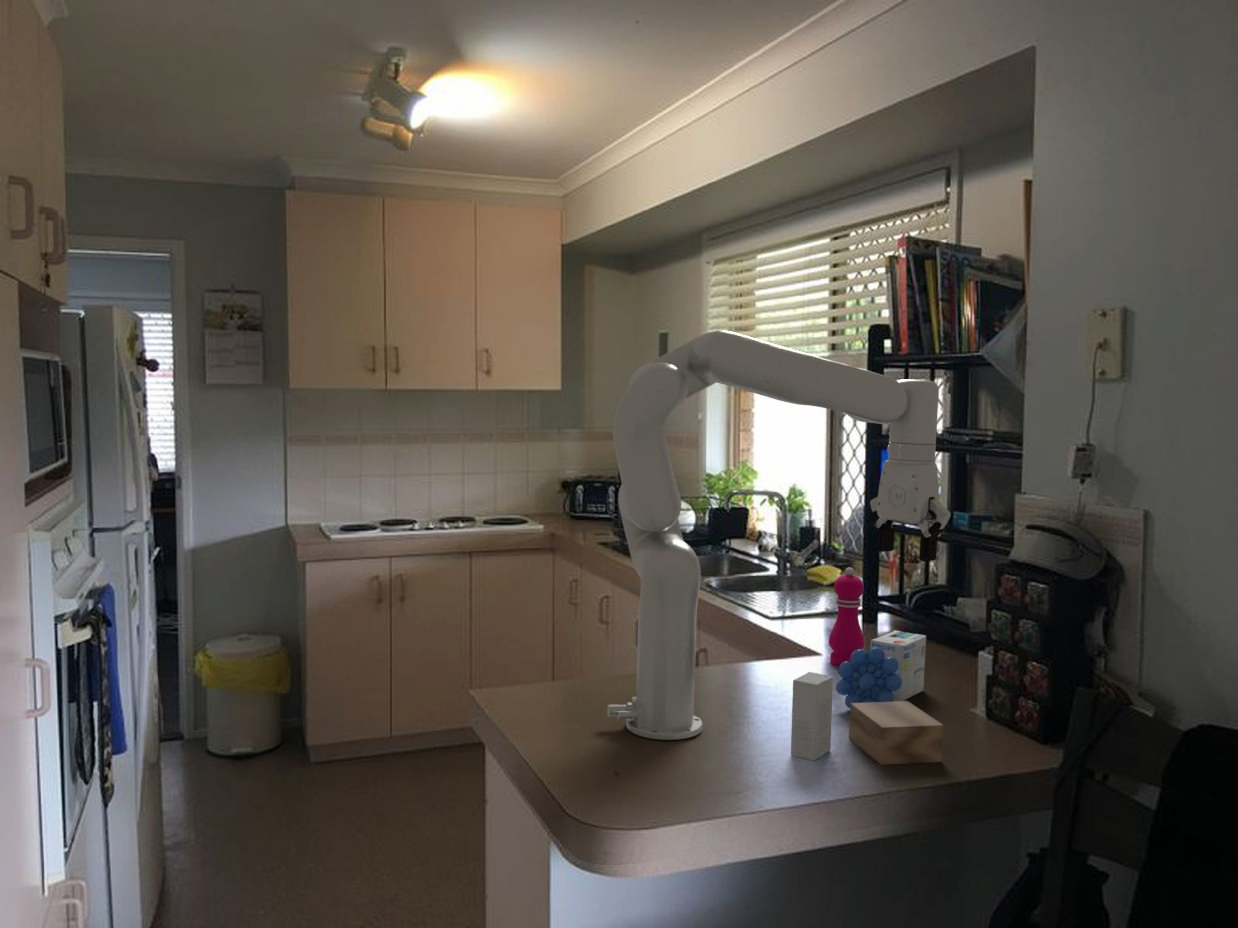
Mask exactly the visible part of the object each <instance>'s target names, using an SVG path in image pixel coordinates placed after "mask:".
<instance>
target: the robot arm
mask: <svg viewBox="0 0 1238 928" xmlns="http://www.w3.org/2000/svg"><path fill="white" fill-rule="evenodd" d="M715 384H721V385H725V386H728V387H732V388H734V389H738V390H742V391H746V392H749V393H752V394H757V395H760V396H763V397H767V398H770V399H774V400H776V401H780V402H785V403H789V404H794V405H799V406H808V407H809V406H811V407H817V408H823V409H827V410H831V411H835V412H839V413H843V414H846V415H847V416H849V418H851V419H853V420H854V421H857V422H860V423H861V422H863V423H870V424H879V425H886V424H889V438H888V446H886V451H887V452H888V455H887V457H888V458H887V460H884V463H883V466H882V469H881V473H880V474H881V475H880V480H879V484H878V485H879V486H878V493H877V496H876V497H873V499H871V500H870V502H869V504H870V509H871V513H872V517H873V519H874V521H875V527H876V528H877V529H878V531H877V532H878V533H877V552H881V553H882V552H884V553H885V552H893V551H894V550H895V549H894V548H895V533H896V531H895V527H893V525H894V524H895V522H898V523H904V524H910V525H916V524H917V525H918V527H919V529H920V531H921V532H922V535H923V536H920V539H919V556H918V557H919V558H918V559H919V560H920V562H932V561H933V562H934V561H936V560H937V549H938V537H941V535H942V532H944V530H945V529H946V528H947V524H948V522H949V520H950V518H951V515H952V514H951V512H950V511H949V510H948V509H947V508H946V507H945V506H943V504H942V503H940V483H939V472H938V465H937V463H936V447H937V444H936V443H937V430H938V429H937V427H938V412H939V411H938V410H939V397H940V395H939V392H940V390H939V386H938V384H937V383H936V382H935V381H932V380H928V379H927V380H926V379H899V380H896V379H895V378H893V377H891V376H889V375H884V374H880V373H878V372H873V371H871V370H867V369H865V368H859V367H857V366H854V365H853V366H852V365H849V364H845V363H841V362H839V361H833V360H830V359H826V358H823V357H821V356H820V357H819V356H817V355H814V354H811V353H807V352H802V351H799V350H795V349H793V348H790V347H789V348H788V347H785V346H782V345H778V344H774V343H772V342H768V341H764V340H761V339H757V338H754V337H751V336H748V335H744V334H740V333H737V332H734V331H729V330H721V329H720V330H715V331H714V330H713V331H708V332H705V333H704V334H701V335H699V336H697V337H696V338H694V339H692V340H690V341H688V342H686V343H684V344H683V345H680V346H679V347H677V348H675V349H673V350H670V351H669V352H667V353H665V354H662V355H661V356H660V357H657V358H655V359H653V360H650V361H648V362H647V363H645V364H643V365H642V366H640V367H638V368H637V369H636V370H635V371H634V372H633V374H632V375H631V377H630V379H629V382H628V387H627V389H626V390H625V391H624V393H623V395H622V397H621V399H620V401H619V403H618V405H617V408H616V411H615V414H614V418H613V421H612V438H613V445H614V451H615V457H616V463H617V467H618V472H619V477H620V481H621V485H620V487H619V490H618V495H617V496H618V507H619V513H620V517H621V522H622V525H623V526H622V527H623V530H624V534H625V538H626V542H627V546H628V551H629V555H630V558H631V562H632V565H633V567H634V569H635V572H636V573H637V575H638V577H639V578H640V591H639V604H638V616H637V617H638V620H637V656H636V657H637V658H636V661H637V662H636V688H635V689H636V693H635V694H636V696H632V697H631V701H627V702H626V703H625V704H619V703H616V704H614V703H611V704H607V708H606V712H607V717H617V720H626V722H625V725H626V726H625V727H626V729H627V730H628V731H630V733H633V734H635V735H636V736H639V737H643V738H645V739H646V738H647V739H653V740H660V741H673V740H674V741H676V740H684V739H690V738H693V737H696V736H698V735H699V734H700V733H702V731H703V726H704V724H703V721H702V720H701V718H700V717H698V716H696V715H695V714H694V710H695V709H694V708H695V678H696V677H695V675H696V649H697V648H696V647H697V646H696V644H697V643H696V642H697V616H698V615H697V613H698V602H699V596H700V595H699V594H700V588H701V580H702V577H701V576H702V574H701V573H702V572H701V566H700V561H699V560H700V559H698V556H697V554H696V552H695V551H694V549H693V548H692V547H691V546H690V545H689V544H688V543H687V542H685V541H684V537H683V534H682V530H681V526H680V525H681V524H680V521H679V517H680V515H681V512H682V497H681V495H680V490H679V487H678V485H677V481H676V477H675V472H674V469H673V464H672V461H671V457H670V451H669V445H668V439H667V428H668V425H669V424H668V423H669V421H670V419H671V417H672V416H673V414H674V413H675V412H676V411H678V410H679V409H680V408H681V407H682V405H683V404H684V403H685V402H686V400H687V399H689V398H691V397H693V396H695V395H696V394H698V393H700V392H702V391H705V390H706V389H707V388H709V387H711V386H713V385H715Z"/></svg>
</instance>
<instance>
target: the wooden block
mask: <svg viewBox="0 0 1238 928" xmlns="http://www.w3.org/2000/svg"><path fill="white" fill-rule="evenodd" d="M848 725H849V726H848V727H849V729H848V738H849V739H850V740H851V741H853V742H854V744H856V745H857V746H858V747H860V749H861V750H863V751H864V752H865V753H866V754H868V755H869V756H870V757H871V758H872V759H873V760H874V761H876V762H877V763H878V764H879V765H880V766H881V765H899V764H900V765H901V764H921V763H923V764H925V763H941V762H943V761H942V760H943V759H942V758H943V744H944V743H943V742H944V724H943V723H941V722H940V721H938V720H936V719H935V718H934V717H932V716H930V714H928V713H926V712H924V711H923V710H922V709H920V708H918V707H917V706H916V705H914V704H912V702H909V701H908V700H904V701H895V702H894V701H893V702H867V703H850V708H849V724H848Z"/></svg>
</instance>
